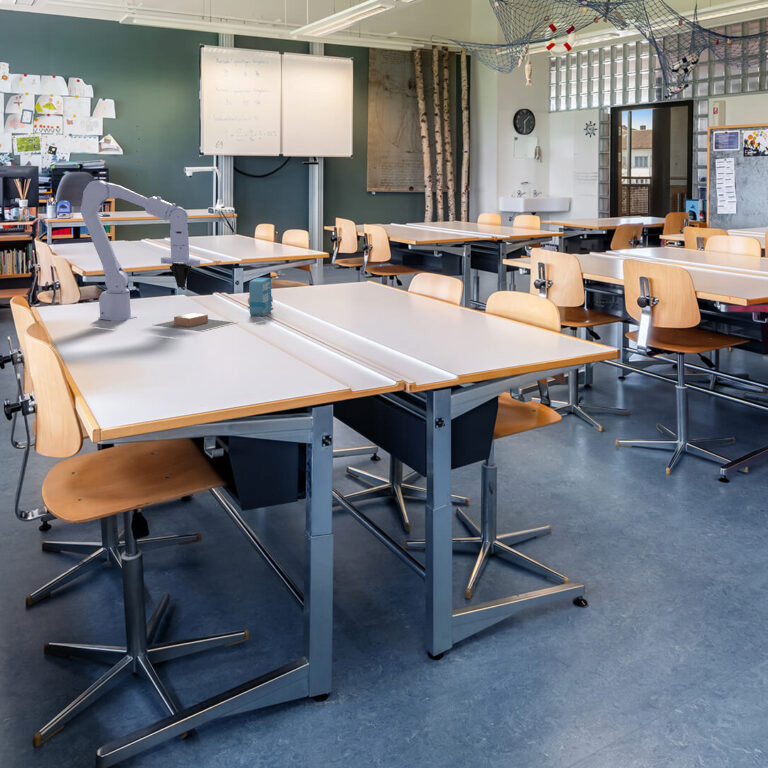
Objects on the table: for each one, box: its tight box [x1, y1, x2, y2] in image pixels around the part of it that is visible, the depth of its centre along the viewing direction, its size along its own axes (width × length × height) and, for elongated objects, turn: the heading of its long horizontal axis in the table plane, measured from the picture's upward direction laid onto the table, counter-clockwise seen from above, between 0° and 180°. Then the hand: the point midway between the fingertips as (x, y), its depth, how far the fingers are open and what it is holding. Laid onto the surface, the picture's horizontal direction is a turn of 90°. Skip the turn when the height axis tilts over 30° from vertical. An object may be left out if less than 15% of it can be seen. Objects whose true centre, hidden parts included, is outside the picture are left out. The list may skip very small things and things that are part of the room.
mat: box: [152, 318, 239, 333], centre depth 261 cm, size 20×18×1 cm
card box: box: [173, 312, 209, 326], centre depth 261 cm, size 2×9×6 cm
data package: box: [248, 277, 272, 317], centre depth 283 cm, size 12×4×12 cm, turn 173°
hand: (181, 287), depth 269 cm, fingers closed
